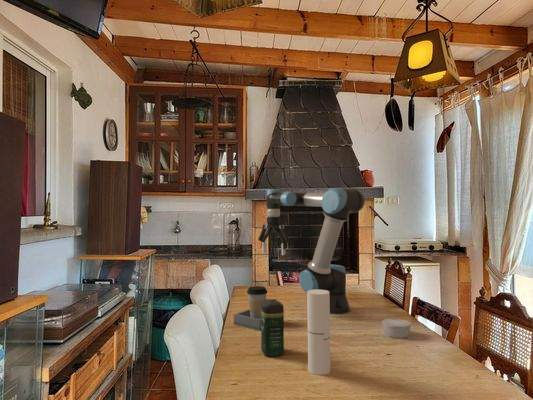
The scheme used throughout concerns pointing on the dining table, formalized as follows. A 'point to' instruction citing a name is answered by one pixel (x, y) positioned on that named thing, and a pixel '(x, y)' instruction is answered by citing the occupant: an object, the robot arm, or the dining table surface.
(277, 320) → the coffee jar
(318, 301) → the cylindrical container
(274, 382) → the dining table surface
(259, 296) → the coffee cup
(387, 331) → the ramekin
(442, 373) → the dining table surface
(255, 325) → the tray
